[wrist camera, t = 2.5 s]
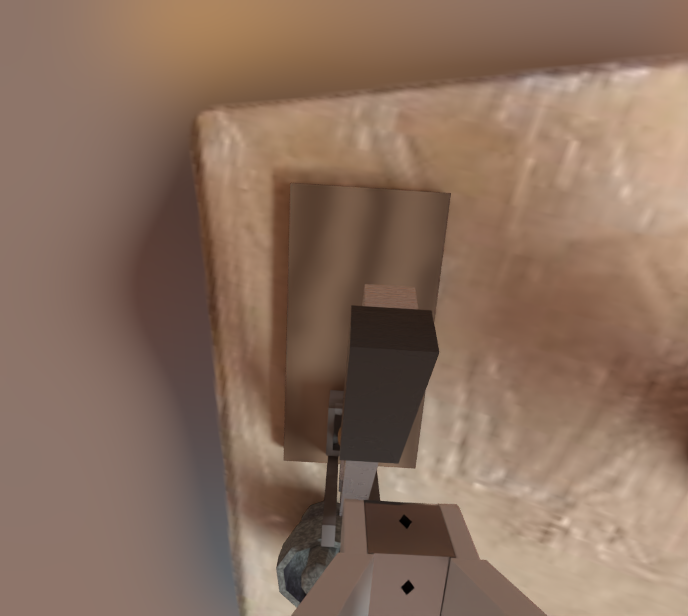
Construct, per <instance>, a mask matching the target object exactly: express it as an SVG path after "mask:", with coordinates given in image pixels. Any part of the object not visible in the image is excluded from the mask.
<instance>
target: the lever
mask: <svg viewBox="0 0 688 616" xmlns="http://www.w3.org/2000/svg"><path fill="white" fill-rule="evenodd" d="M438 354H439V348H438V343H437V337H436V332H435V326H434V321H433V315H432V310H419V309H418V304H417V297H416V291H415V287H402V286H386V285H370V284H365V287H364V296H363V304H362V306H355V305H351V316H350V328H349V339H348V351H347V362H346V374H345V385H344V396H343V408H342V419H341V436H340V457H339V460H341V463H340V475H339V492H341V493H340V510H339V516H342V515H343V502H344V498H345V499H358V500H368V499H369V495H370V492H371V488H372V484H373V481H374V477H375V473H376V470H377V466H378V463H394V464H399V461H400V458H401V456H402V453H403V450H404V447H405V445H406V442H407V439H408V436H409V434H410V431H411V428H412V425H413V423H414V420H415V417H416V415H417V412H418V409H419V406H420V404H421V401H422V398H423V395H424V393H425V390H426V387H427V385H428V382H429V379H430V376H431V374H432V371H433V368H434V365H435V363H436V360H437V357H438Z"/></svg>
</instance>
